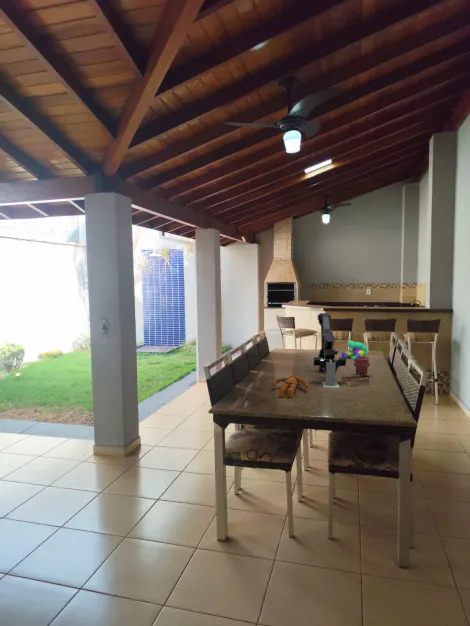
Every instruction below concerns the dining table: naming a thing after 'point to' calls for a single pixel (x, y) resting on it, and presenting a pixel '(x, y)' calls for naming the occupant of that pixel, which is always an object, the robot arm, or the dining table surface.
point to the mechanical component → (361, 365)
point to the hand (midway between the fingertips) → (330, 373)
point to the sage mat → (330, 386)
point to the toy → (289, 385)
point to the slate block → (330, 373)
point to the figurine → (355, 350)
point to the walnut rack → (355, 380)
